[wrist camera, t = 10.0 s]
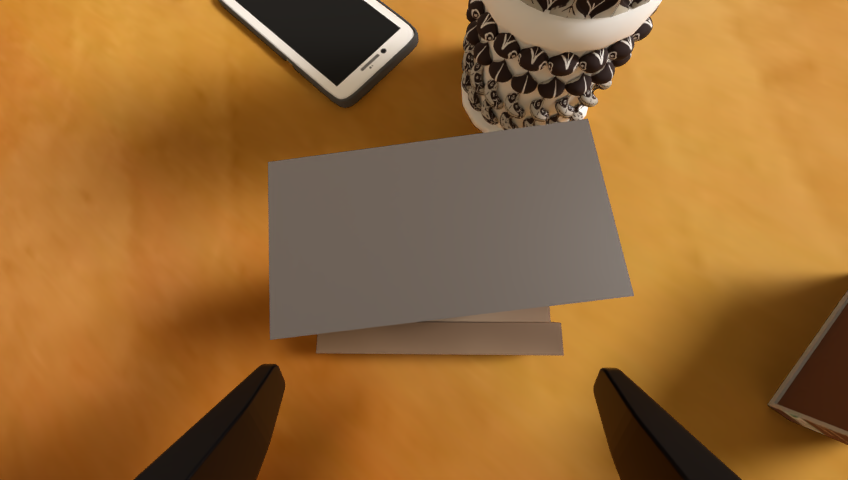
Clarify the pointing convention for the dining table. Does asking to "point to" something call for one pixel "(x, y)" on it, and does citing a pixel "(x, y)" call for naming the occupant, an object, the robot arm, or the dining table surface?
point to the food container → (820, 381)
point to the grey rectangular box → (441, 230)
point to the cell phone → (331, 40)
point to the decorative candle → (545, 57)
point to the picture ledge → (455, 336)
